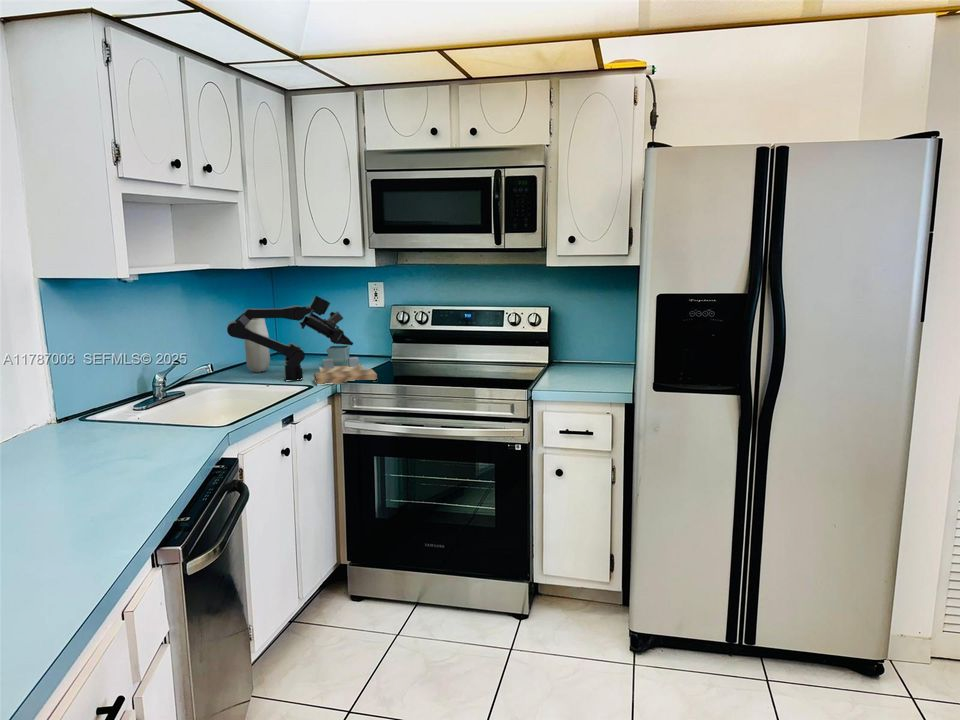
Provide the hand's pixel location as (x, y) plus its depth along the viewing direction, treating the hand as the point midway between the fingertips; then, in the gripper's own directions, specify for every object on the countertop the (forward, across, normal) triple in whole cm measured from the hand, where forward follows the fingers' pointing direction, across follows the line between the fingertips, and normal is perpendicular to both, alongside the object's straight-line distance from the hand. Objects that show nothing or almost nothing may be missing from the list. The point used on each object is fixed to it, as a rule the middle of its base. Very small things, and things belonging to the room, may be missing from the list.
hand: (350, 342), depth 293 cm
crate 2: (+6, +1, +8) cm, 11 cm away
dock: (+4, -11, +14) cm, 18 cm away
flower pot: (+6, +23, +14) cm, 27 cm away
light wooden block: (+4, +1, +15) cm, 15 cm away
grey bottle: (-23, +23, +33) cm, 46 cm away
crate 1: (-3, +1, +14) cm, 14 cm away
